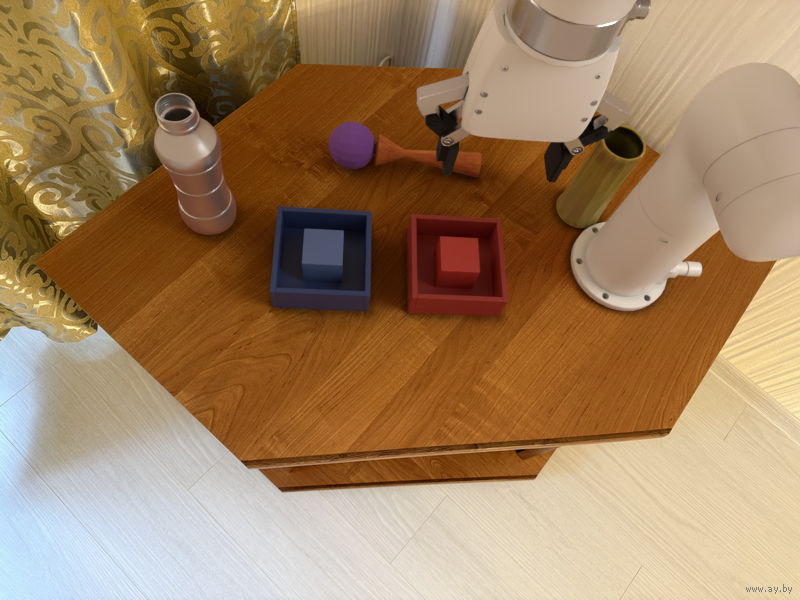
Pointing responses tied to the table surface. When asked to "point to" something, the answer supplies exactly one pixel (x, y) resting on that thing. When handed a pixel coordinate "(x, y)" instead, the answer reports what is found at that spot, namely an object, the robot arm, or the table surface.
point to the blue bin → (288, 260)
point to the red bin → (478, 301)
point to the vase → (600, 177)
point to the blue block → (322, 255)
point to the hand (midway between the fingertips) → (497, 166)
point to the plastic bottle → (193, 165)
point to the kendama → (388, 151)
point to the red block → (456, 262)
